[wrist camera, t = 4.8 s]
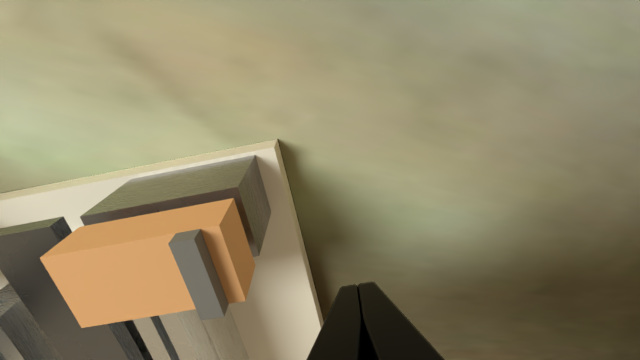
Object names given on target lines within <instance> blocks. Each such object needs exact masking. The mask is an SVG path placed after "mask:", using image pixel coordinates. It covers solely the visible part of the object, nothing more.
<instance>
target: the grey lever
mask: <svg viewBox="0 0 640 360" xmlns="http://www.w3.org/2000/svg"><path fill="white" fill-rule="evenodd" d="M71 233H72V231H71V229H70V227H69V225H68V224H67V222H66V220H65V218H64V216H63V217H57V218H52V219H47V220H42V221H36V222H31V223H26V224H20V225H15V226H10V227H5V228H0V270H1V272H2V273H3V275H4V276H5V277H6V279H7V280H8V282H9V283H10V285H11V286H12V287H13V289H14V290H15V292H16V293H17V295H18V296H19V297H20V299H21V300H22V302H23V303H24V305H25V306H26V307H27V309H28V310H29V312H30V313H31V315H32V316H33V317H34V319H35V320H36V322H37V323H38V324H39V326H40V327H41V329H42V330H43V332H44V333H45V334H46V336H47V337H48V339H49V340H50V342H51V343H52V344H53V346H54V347H55V349H56V350H57V352H58V353H59V354H60V356H61V357H62V359H63V360H145V359H144V357H143V355H142V354H141V352H140V350H139V348H138V347H137V345H136V343H135V341H134V340H133V338H132V336H131V334H130V333H129V331H128V329H127V327H126V326H125V324H124V322H123V321H121V322H115V323H109V324H103V325H97V326H91V327H85V328H81V326H80V324H79V323H78V321H77V319H76V318H75V316H74V314H73V313H72V311H71V309H70V308H69V306H68V304H67V303H66V301H65V299H64V298H63V296H62V294H61V293H60V291H59V289H58V288H57V286H56V285H55V283H54V281H53V280H52V278H51V276H50V275H49V273H48V271H47V270H46V268H45V266H44V265H43V263H42V261H41V260H40V257H42V256H43V255H44V254H45V253H47V252H48V251H49V250H50V249H52V248H53V247H54V246H56V245H57V244H58V243H59V242H61V241H62V240H63V239H65V238H66V237H67V236H68V235H70V234H71Z"/></svg>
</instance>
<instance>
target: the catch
mask: <svg viewBox="0 0 640 360" xmlns="http://www.w3.org/2000/svg"><path fill="white" fill-rule="evenodd" d="M40 260H41V261H42V263H43V265H44V266H45V268H46V270H47V271H48V273H49V275H50V276H51V278H52V280H53V281H54V283H55V285H56V286H57V288H58V289H59V291H60V293H61V294H62V296H63V298H64V299H65V301H66V303H67V304H68V306H69V308H70V309H71V311H72V313H73V314H74V316H75V318H76V319H77V321H78V323H79V324H80V326H81V328H85V327H91V326H97V325H103V324H109V323H115V322H121V321H128V320H134V319H140V318H146V317H152V316H158V315H164V314H170V313H176V312H182V311H188V310H194V309H196V310H197V313H198V315H199V317H200V320H201V321H202V320H208V319H214V318H220V317H224V316H225V313H226V311H227V308H228V305H229V304H230V303H236V302H243V301H246V298H247V295H248V291H249V287H250V284H251V280H252V277H253V273H254V269H255V266H256V265H255V262H254V259H253V256H252V253H251V250H250V247H249V244H248V241H247V238H246V235H245V231H244V228H243V225H242V222H241V219H240V216H239V213H238V210H237V207H236V204H235V201H234V198H231V199H226V200H221V201H215V202H210V203H204V204H199V205H194V206H188V207H183V208H178V209H172V210H167V211H162V212H156V213H151V214H146V215H140V216H135V217H129V218H124V219H119V220H113V221H108V222H103V223H97V224H92V225H87V226H81V227H79V228H77V229H76V230H75V231H74V232H72V233H71V234H70V235H68V236H67V237H66V238H65V239H63V240H62V241H61V242H59V243H58V244H57V245H56V246H54V247H53V248H52V249H50V250H49V251H48V252H47V253H45V254H44V255H43V256H42V257H40Z"/></svg>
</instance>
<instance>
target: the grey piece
mask: <svg viewBox="0 0 640 360" xmlns="http://www.w3.org/2000/svg"><path fill="white" fill-rule="evenodd" d="M231 198H234V201H235V204H236V207H237V210H238V213H239V216H240V219H241V222H242V225H243V228H244V231H245V235H246V238H247V241H248V244H249V247H250V250H251V253H252V256H253V257H256V256H260V252H261V248H262V244H263V241H264V237H265V233H266V230H267V226H268V222H269V219H270V215H271V209H270V205H269V202H268V198H267V195H266V191H265V188H264V184H263V180H262V177H261V173H260V170H259V166H258V163H257V159H256V156H255V155H252V156H247V157H242V158H237V159H232V160H227V161H221V162H216V163H211V164H206V165H201V166H196V167H191V168H185V169H180V170H175V171H170V172H165V173H160V174H155V175H150V176H144V177H139V178H134V179H130V180H129V181H127V182H126V183H125V184H123V185H122V186H121V187H119V188H118V189H117V190H115V191H114V192H113V193H111V194H110V195H108V196H107V197H106V198H104V199H103V200H102V201H100V202H99V203H98V204H96V205H95V206H94V207H92V208H91V209H89V210H88V211H87V212H85V213H84V214H83V215H81V216H80V218H81V220H82V222H83V224H84V226H87V225H92V224H97V223H103V222H108V221H113V220H119V219H124V218H129V217H135V216H140V215H146V214H151V213H156V212H162V211H167V210H172V209H178V208H183V207H188V206H194V205H199V204H204V203H210V202H215V201H221V200H226V199H231ZM123 322H124V324H125V326H126V327H127V329H128V331H129V333H130V334H131V336H132V338H133V340H134V341H135V343H136V345H137V347H138V348H139V350H140V352H141V354H142V355H143V357H144V359H145V360H249V357H248V354H247V352H246V349H245V346H244V344H243V341H242V338H241V336H240V333H239V331H238V328H237V325H236V323H235V320H234V317H233V315H232V312H231V309H230V307H229V305H228V308H227V311H226V313H225V316H224V317H220V318H214V319H208V320H202V321H201V320H200V317H199V315H198V313H197V310H196V309H194V310H188V311H182V312H176V313H170V314H164V315H158V316H152V317H146V318H140V319H134V320H128V321H123ZM0 360H63V359H62V357H61V356H60V354H59V353H58V352H57V350H56V349H55V347H54V346H53V344H52V343H51V342H50V340H49V339H48V337H47V336H46V334H45V333H44V332H43V330H42V329H41V327H40V326H39V324H38V323H37V322H36V320H35V319H34V317H33V316H32V315H31V313H30V312H29V310H28V309H27V307H26V306H25V305H24V303H23V302H22V300H21V299H20V297H19V296H18V295H17V293H16V292H15V290H14V289H13V287H12V286H11V285H10V283H8V284H7V285H6V286H5V287H3V288H2V289H1V290H0Z"/></svg>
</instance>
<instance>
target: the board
mask: <svg viewBox="0 0 640 360" xmlns="http://www.w3.org/2000/svg"><path fill="white" fill-rule="evenodd" d="M252 155H255V156H256V159H257V163H258V166H259V170H260V173H261V177H262V180H263V184H264V188H265V191H266V195H267V198H268V202H269V205H270V209H271V215H270V219H269V222H268V226H267V230H266V233H265V237H264V241H263V244H262V248H261V252H260V256H256V257H253V259H254V262H255V265H256V266H255V269H254V273H253V277H252V280H251V284H250V287H249V291H248V295H247V298H246V301H243V302H236V303H230V304H229V307H230V309H231V312H232V315H233V317H234V320H235V323H236V325H237V328H238V331H239V333H240V336H241V338H242V341H243V344H244V346H245V349H246V352H247V354H248V357H249V360H306V359H307V357H308V355H309V353H310V351H311V349H312V347H313V345H314V342H315V340H316V338H317V336H318V334H319V332H320V330H321V328H322V326H323V323H324V321H323V317H322V313H321V309H320V305H319V301H318V297H317V294H316V290H315V286H314V282H313V278H312V274H311V270H310V266H309V262H308V258H307V254H306V250H305V246H304V242H303V238H302V234H301V230H300V226H299V222H298V218H297V215H296V211H295V207H294V203H293V199H292V195H291V191H290V187H289V183H288V179H287V175H286V171H285V167H284V163H283V159H282V155H281V151H280V147H279V143H278V140H277V139H275V140H270V141H265V142H260V143H255V144H250V145H245V146H240V147H235V148H230V149H224V150H219V151H214V152H209V153H204V154H199V155H194V156H189V157H184V158H179V159H174V160H169V161H164V162H159V163H153V164H148V165H143V166H138V167H133V168H128V169H123V170H118V171H113V172H108V173H103V174H98V175H93V176H88V177H82V178H77V179H72V180H67V181H62V182H57V183H52V184H47V185H42V186H37V187H32V188H27V189H22V190H16V191H11V192H6V193H1V194H0V228H5V227H10V226H15V225H20V224H26V223H31V222H36V221H42V220H47V219H52V218H57V217H63V216H64V218H65V220H66V222H67V224H68V225H69V227H70V229H71V231H72V232H74V231H75V230H76V229H77V228H79V227H81V226H84V224H83V222H82V220H81V218H80V216H81V215H83V214H84V213H85V212H87V211H88V210H89V209H91V208H92V207H94V206H95V205H96V204H98V203H99V202H100V201H102V200H103V199H104V198H106V197H107V196H108V195H110V194H111V193H113V192H114V191H115V190H117V189H118V188H119V187H121V186H122V185H123V184H125V183H126V182H127V181H129V180H130V179H134V178H139V177H144V176H150V175H155V174H160V173H165V172H170V171H175V170H180V169H185V168H191V167H196V166H201V165H206V164H211V163H216V162H221V161H227V160H232V159H237V158H242V157H247V156H252ZM8 283H9V282H8V280H7V279H6V277H5V276H4V275H3V273H2V272H1V270H0V290H1V289H2V288H3V287H5V286H6V285H7V284H8Z"/></svg>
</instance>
